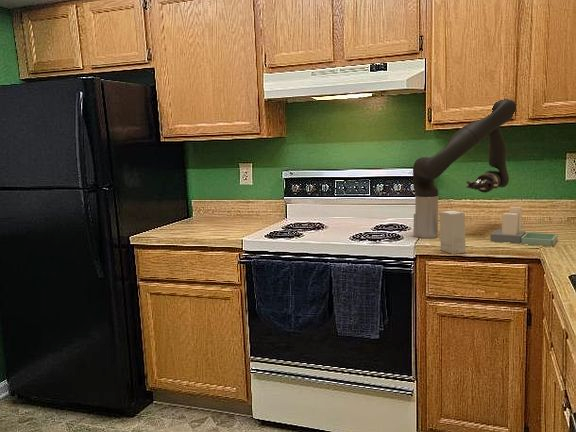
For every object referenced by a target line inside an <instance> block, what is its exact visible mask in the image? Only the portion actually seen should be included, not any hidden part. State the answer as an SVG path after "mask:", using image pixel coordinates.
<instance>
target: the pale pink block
mask: <svg viewBox="0 0 576 432" xmlns="http://www.w3.org/2000/svg"><path fill="white" fill-rule="evenodd" d="M501 216H502V219H501V220H502V223H501V230H502V234H505V235H516V234H518V213H509V212H504V213H502V215H501Z"/></svg>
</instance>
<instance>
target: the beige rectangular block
mask: <svg viewBox="0 0 576 432" xmlns="http://www.w3.org/2000/svg"><path fill="white" fill-rule="evenodd" d="M508 213H518V233H520V232H521V231H522V219H523V217H522V216H523V206H512V205H511V206H509V207H508Z"/></svg>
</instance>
